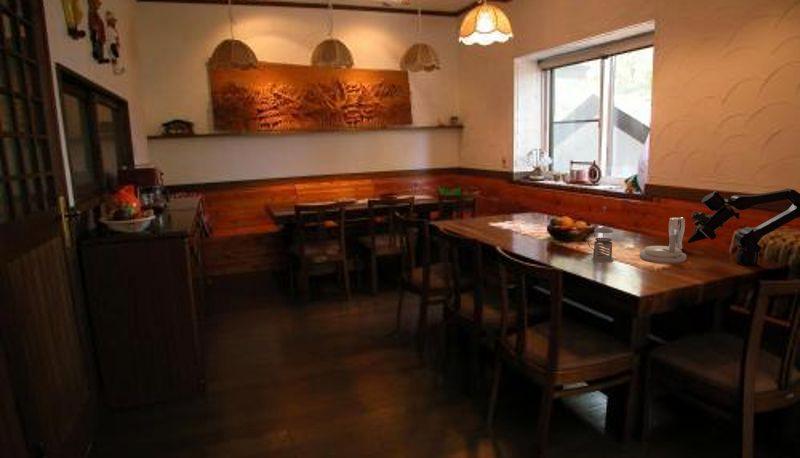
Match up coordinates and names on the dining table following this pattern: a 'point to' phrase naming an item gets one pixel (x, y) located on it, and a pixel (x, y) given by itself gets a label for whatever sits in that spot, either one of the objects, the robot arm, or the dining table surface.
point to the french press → (605, 243)
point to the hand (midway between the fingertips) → (687, 242)
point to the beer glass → (677, 229)
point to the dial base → (663, 258)
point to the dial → (664, 249)
